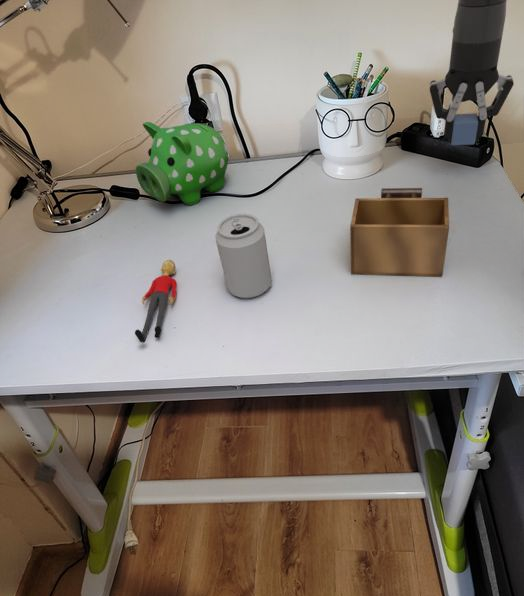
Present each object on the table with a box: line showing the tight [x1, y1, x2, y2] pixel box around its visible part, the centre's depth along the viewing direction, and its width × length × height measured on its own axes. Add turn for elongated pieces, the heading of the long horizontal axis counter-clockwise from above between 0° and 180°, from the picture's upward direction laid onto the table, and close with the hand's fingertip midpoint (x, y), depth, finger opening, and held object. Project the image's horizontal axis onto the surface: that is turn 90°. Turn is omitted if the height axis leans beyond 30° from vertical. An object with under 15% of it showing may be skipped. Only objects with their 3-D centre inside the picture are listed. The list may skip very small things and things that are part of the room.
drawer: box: [349, 187, 450, 278], centre depth 81 cm, size 14×9×13 cm
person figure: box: [134, 259, 178, 343], centre depth 82 cm, size 5×4×18 cm
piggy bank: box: [135, 121, 229, 206], centre depth 103 cm, size 14×18×15 cm
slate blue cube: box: [450, 112, 478, 146], centre depth 92 cm, size 4×4×4 cm
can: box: [214, 213, 273, 299], centre depth 79 cm, size 8×8×12 cm
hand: (462, 138), depth 94 cm, fingers closed on slate blue cube, 4 cm apart
